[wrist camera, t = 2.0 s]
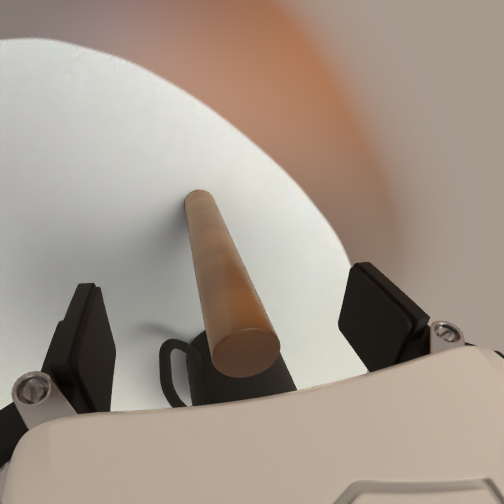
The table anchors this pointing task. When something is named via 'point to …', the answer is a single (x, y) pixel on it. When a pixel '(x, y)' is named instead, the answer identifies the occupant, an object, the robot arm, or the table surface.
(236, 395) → the mug
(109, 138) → the table surface
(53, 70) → the table surface
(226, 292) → the stick
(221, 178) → the table surface
